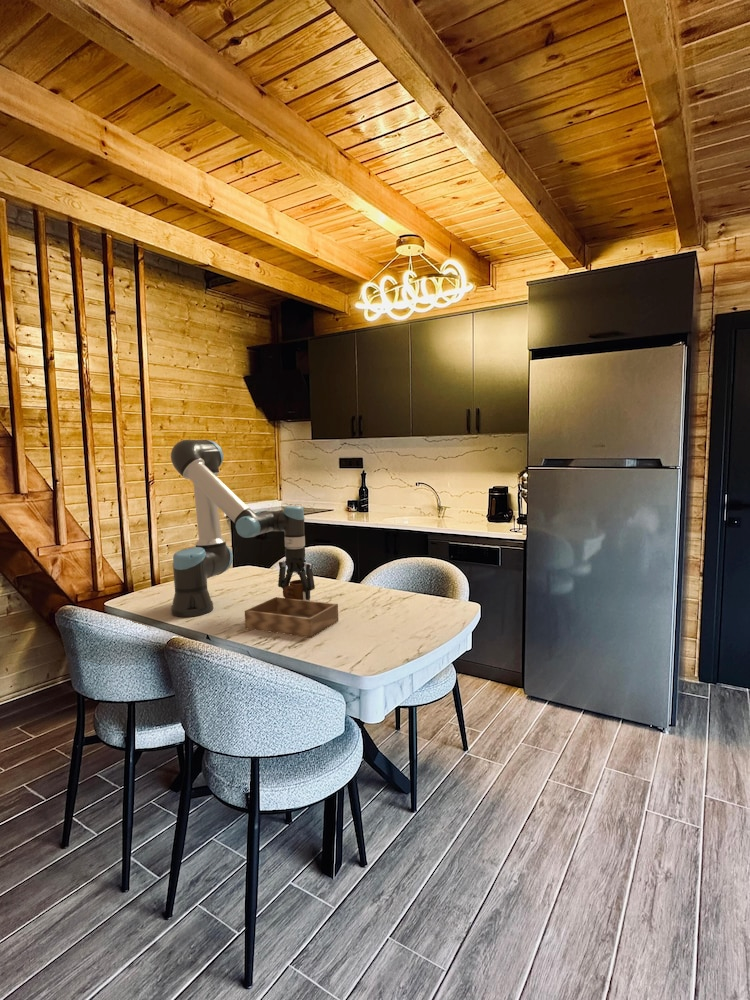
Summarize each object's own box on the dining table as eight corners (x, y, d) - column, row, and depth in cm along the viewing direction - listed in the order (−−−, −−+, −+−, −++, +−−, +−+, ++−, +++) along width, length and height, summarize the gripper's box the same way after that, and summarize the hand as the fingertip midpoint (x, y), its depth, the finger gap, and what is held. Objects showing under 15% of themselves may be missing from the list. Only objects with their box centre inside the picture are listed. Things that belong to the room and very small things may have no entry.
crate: (245, 628, 183) (244, 610, 182) (276, 613, 199) (275, 597, 198) (311, 637, 172) (310, 619, 171) (338, 620, 188) (337, 603, 188)
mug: (290, 613, 198) (290, 587, 197) (277, 609, 203) (276, 584, 202) (314, 605, 207) (313, 581, 206) (300, 602, 212) (299, 578, 211)
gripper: (266, 547, 203) (268, 606, 205) (313, 550, 195) (314, 612, 197) (278, 544, 210) (280, 601, 212) (323, 547, 201) (325, 606, 204)
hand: (296, 606), depth 205 cm, fingers closed on mug, 7 cm apart
